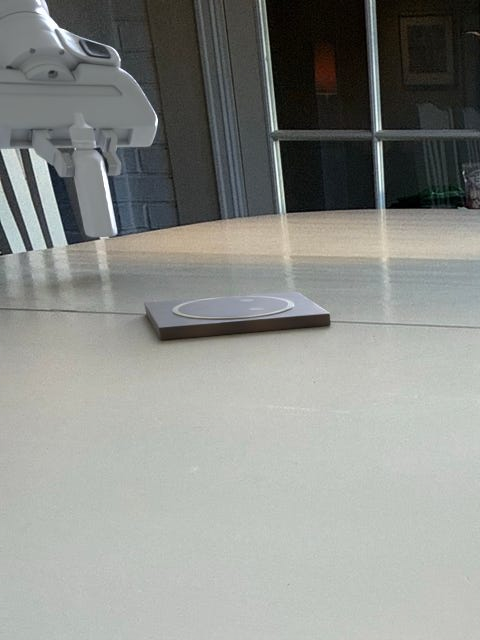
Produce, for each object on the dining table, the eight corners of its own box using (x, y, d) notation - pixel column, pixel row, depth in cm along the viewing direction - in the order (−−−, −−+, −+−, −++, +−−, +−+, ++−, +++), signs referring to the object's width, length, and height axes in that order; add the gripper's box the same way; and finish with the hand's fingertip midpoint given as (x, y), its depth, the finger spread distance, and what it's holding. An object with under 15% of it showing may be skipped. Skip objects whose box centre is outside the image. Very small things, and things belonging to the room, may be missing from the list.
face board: (160, 340, 72) (158, 325, 71) (146, 314, 81) (143, 300, 81) (331, 325, 77) (329, 311, 76) (298, 302, 86) (296, 289, 86)
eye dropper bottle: (130, 232, 104) (109, 112, 98) (109, 238, 99) (86, 112, 93) (93, 232, 105) (70, 112, 98) (71, 237, 100) (45, 112, 94)
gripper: (-65, 38, 91) (-6, 151, 90) (128, 48, 103) (183, 148, 102) (-65, 90, 96) (-9, 197, 95) (119, 94, 108) (171, 189, 107)
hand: (92, 172), depth 98 cm, fingers closed on eye dropper bottle, 4 cm apart
